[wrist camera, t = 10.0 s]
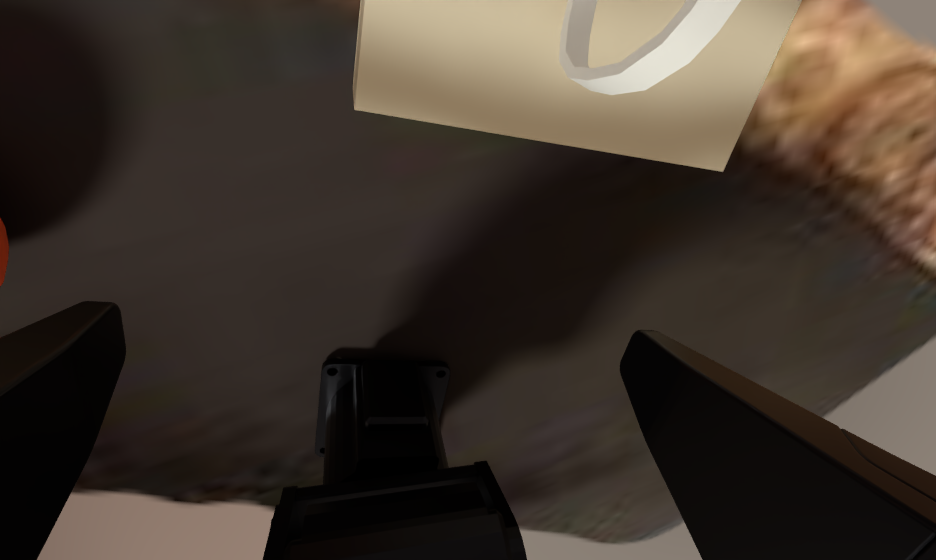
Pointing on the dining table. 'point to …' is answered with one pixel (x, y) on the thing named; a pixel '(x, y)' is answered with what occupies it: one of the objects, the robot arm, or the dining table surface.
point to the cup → (652, 61)
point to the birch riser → (545, 82)
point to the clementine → (3, 251)
